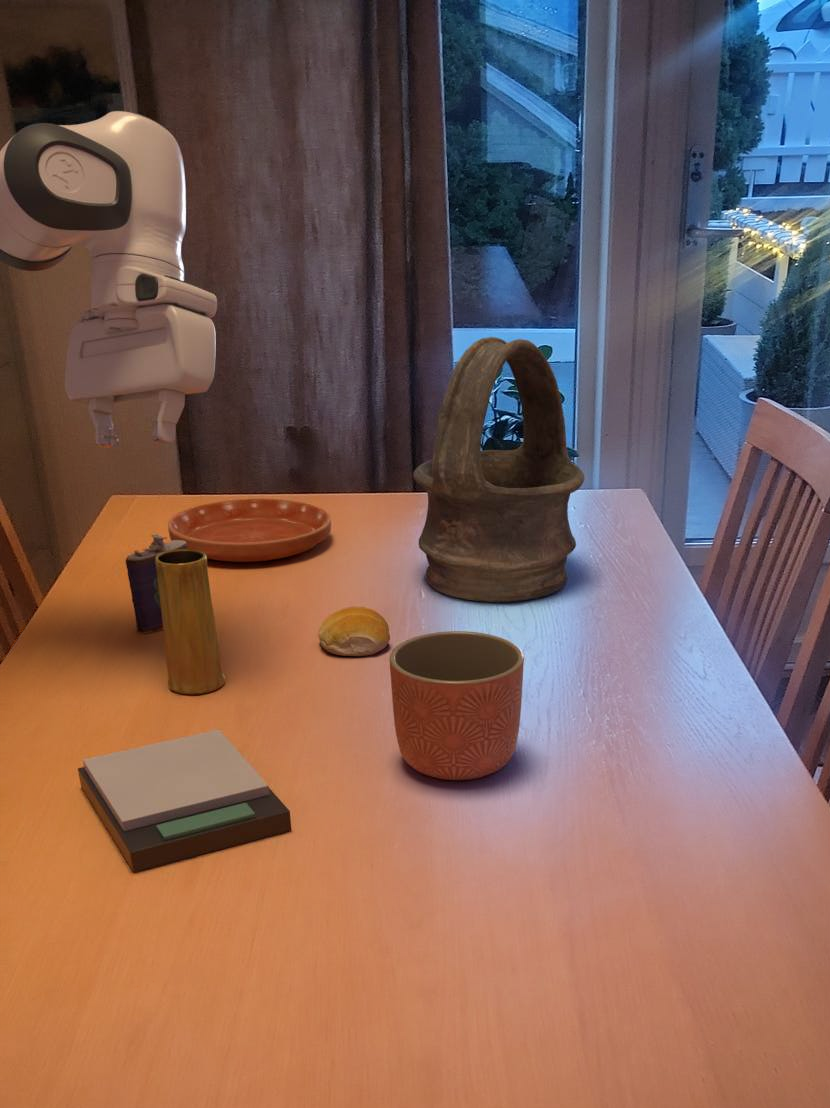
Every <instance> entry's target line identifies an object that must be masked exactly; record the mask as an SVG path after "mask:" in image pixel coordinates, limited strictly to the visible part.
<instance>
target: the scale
mask: <svg viewBox="0 0 830 1108" xmlns="http://www.w3.org/2000/svg"><path fill="white" fill-rule="evenodd" d="M82 763H83V766H82V767H78V768H77V771H78V772H77V773H78V778H79V782H80V787H81V789H82V791H83V793H84V794H85V796H86V797H87V799H88V801H89V803H90V804H91V806H92V807H93V809H94V811H95V813H96V814H97V815H98V817H99V818H100V819H99V820H101V822H102V823H103V825H104V827H105V828H106V830H107V832H108V833H109V835H110V837H111V838H112V840H113V841H114V844H115V845H116V847H117V848H118V850H119V851H120V853H121V855H122V857H123V859H125V861H126V863H127V864H128V866H129V868H130V870H131V871H132V872H133V873H138V872H141V871H146V870H148V869H153V868H156V867H161V866H163V865H167V864H168V865H169V864H171V863H175V862H176V863H177V862H178V861H183V860H186V859H190V858H194V857H197V856H202V855H206V854H210V853H213V852H216V851H221V850H224V849H228V848H232V847H235V846H239V845H243V844H246V843H250V842H254V841H258V840H262V839H265V838H269V837H272V836H277V835H280V834H284V833H287V832H288V833H289V832H292V820H291V810H289V808H288V807H287V806H286V805H285V804H284V802H283V801H281V799H280V798H279V797H278V796H277V795H276V793H275V792H274V791H273V790H272V789H271V787H269V784H268V783H267V781H265V780H264V779H263V778H262V776H261V775H260V774H259V773H258V772H257V771H256V769H254V767H253V766H252V765H251V764H250V763H249V761H248V760H247V759H246V758H245V756H243V755H242V754H241V752H240V751H239V750H238V749H237V747H235V746H234V744H233V743H232V742H231V741H230V740H229V739H228V738H227V736H226V735H224V733H223V732H222V731H221V730H220V729H214V730H209V731H205V732H200V733H196V734H191V735H187V736H181V737H178V738H173V739H169V740H165V741H159V742H156V743H151V744H146V745H142V746H137V747H134V748H129V749H124V750H119V751H116V752H111V753H106V754H102V755H101V754H100V755H98V756H93V757H88V758H84V759H82Z"/></svg>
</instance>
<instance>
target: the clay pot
mask: <svg viewBox="0 0 830 1108" xmlns="http://www.w3.org/2000/svg"><path fill="white" fill-rule="evenodd" d="M505 363H507V364H508V366H509V368H510V371H511V374H512V376H513V378H514V383H515V385H516V388H517V389H516V390H517V393H518V396H519V400H520V405H521V411H522V428H523V429H522V432H523V433H522V434H523V439H522V443H521V445H520V446H519V447H517V448H516V449H509V450H508V449H507V450H505V449H504V450H502V449H485V450H482V439H483V432H484V426H485V420H486V417H487V416H486V415H487V411H488V408H489V403H490V399H491V395H492V392H493V389H494V385H495V383H496V380H497V378H498V376H499V374H500V372H501V369H502V368H503V367H504V365H505ZM435 430H436V431H435V437H434V442H433V450H432V459H429V460H427V461H425V462H423V463H421V464H420V465H418V466H417V467H416V468H415V469H414V471H413V480H414V481H415V482H416V483H417V484H418V485H419V486H420V487H422V488H424V489H425V490H426V493H427V512H426V518H425V522H424V526H423V527H422V528H423V529H422V530H421V533H420V536H419V538H418V547H419V549H420V551H422V552H423V554H425V557H426V560H427V564H428V566H427V567H426V570H425V578H426V581H427V582H428V583H429V585H430V586H431V587H432V588H433V589H434V590H435V591H436V592H438V593H441V594H443V595H447V596H448V597H449V596H450V597H453V598H455V599H456V598H457V599H460V600H468V601H474V602H482V603H483V602H484V603H517V602H518V603H519V602H523V601H527V600H534V599H539V598H543V597H546V596H549V595H553V594H554V593H556V592H557V591H560V590H561V589H562V588H563V587H564V586H566V584H567V582H568V579H569V576H568V575H569V574H568V572H567V570H566V568H565V566H566V564H567V559H568V556H569V555H570V554H571V553H573V552H574V550H575V549H576V547H577V541H576V539H575V537H574V535H573V532H572V530H571V525H570V521H569V512H568V509H569V501H570V497H571V494H573V493H575V492H577V491H578V490H579V489H580V488H581V487H582V485H583V484H584V482H585V478H586V477H585V473H584V471H583V470H582V469H581V468H580V467H579V466H578V465H577V464H575V463H574V462H573V461H572V460H571V458H570V457H569V453H568V452H569V451H568V447H567V433H566V431H567V430H566V422H565V415H564V410H563V402H562V398H561V394H560V390H559V386H558V382H557V379H556V376H555V374H554V370H553V369H552V367H551V365H550V363H549V360H548V359H547V358H546V356H545V355H544V354H543V352H542V350H540V349H539V347H538V346H537V345H536V344H535V343H533V342H531V341H530V340H527V339H522V338H517V339H515V340H511V341H509V342H507V341H506V340H504V339H502V338H499V337H494V336H488V337H482V338H480V339H478V340H476V341H475V342H473V343H472V344H471V345H470V346H468V348H466V350H465V351H464V352H463V353H462V355H461V356H460V358H459V359H458V360H457V362H456V364H455V366H454V369H453V370H452V372H451V375H450V378H449V381H448V383H447V387H446V390H445V392H444V396H443V400H442V403H441V406H440V411H439V414H438V418H437V424H436V429H435Z"/></svg>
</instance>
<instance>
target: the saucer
mask: <svg viewBox="0 0 830 1108" xmlns="http://www.w3.org/2000/svg"><path fill="white" fill-rule="evenodd" d="M167 529H168V534H169V539H170V541H173V540H182V541H185V542H186V543H187V545H188V549H196V550H200V551H202V552H204V553H205V554H206V557H207V559H209V560H214V561H221V562H230V563H232V562H234V563H253V562H266V561H273V560H279V559H284V558H289V557H292V556H295V555H299V554H302V553H305V552H307V551H309V550H311V549H313V548H314V547H316V546H317V544H319V543H321V542H322V541H324V540H325V539H327V538H328V536H329V535H330V534H331V532H332V517H331V514H330V513H329V512H328V511H327V510H325V509H323V508H322V507H319V506H317V505H314V504H311V503H307V502H303V501H297V500H291V499H290V500H289V499H280V498H240V499H239V498H238V499H227V500H219V501H214V502H207V503H203V504H199V505H195V506H191V507H189V508H186V509H183V510H181V511H179V512H177V513H176V514H174V515H173V516H171V517H170V519H169V520H168V523H167Z"/></svg>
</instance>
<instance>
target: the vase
mask: <svg viewBox="0 0 830 1108" xmlns="http://www.w3.org/2000/svg"><path fill="white" fill-rule="evenodd" d="M155 563H156V569H157V576H158V586H159V595H160V604H161V613H162V622H163V629H162V630H163V641H164V648H165V659H166V660H165V661H166V669H167V685H168V688H169V689H170V690H171V691H172V692H175V693H177V694H181V695H192V696H193V695H205V694H209V693H212V692H215V691H217V690H219V689H221V688H222V687H223V686H224V685H225V683H226V678H225V677H226V676H225V674H224V671H223V667H222V666H223V665H222V657H221V650H220V643H219V637H218V629H217V628H218V627H217V621H216V615H215V611H214V605H213V601H212V595H211V588H210V579H209V570H208V558H207V557H206V554H205V553H204V552H202V551H200V550H196V549H174V550H168V551H164V552H162V553H160V554H158V555H157V556H156V557H155Z"/></svg>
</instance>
